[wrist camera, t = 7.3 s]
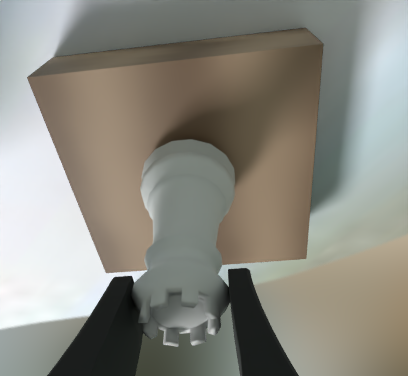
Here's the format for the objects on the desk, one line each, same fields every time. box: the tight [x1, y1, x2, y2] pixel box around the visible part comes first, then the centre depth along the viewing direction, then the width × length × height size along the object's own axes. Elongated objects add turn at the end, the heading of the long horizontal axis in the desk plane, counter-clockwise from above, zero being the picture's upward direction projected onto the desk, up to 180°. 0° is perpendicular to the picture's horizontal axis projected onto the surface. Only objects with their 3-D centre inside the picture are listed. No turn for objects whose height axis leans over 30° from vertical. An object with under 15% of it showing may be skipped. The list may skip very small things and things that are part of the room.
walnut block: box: [27, 28, 323, 273], centre depth 19 cm, size 12×12×3 cm
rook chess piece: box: [131, 139, 235, 346], centre depth 14 cm, size 4×4×8 cm
